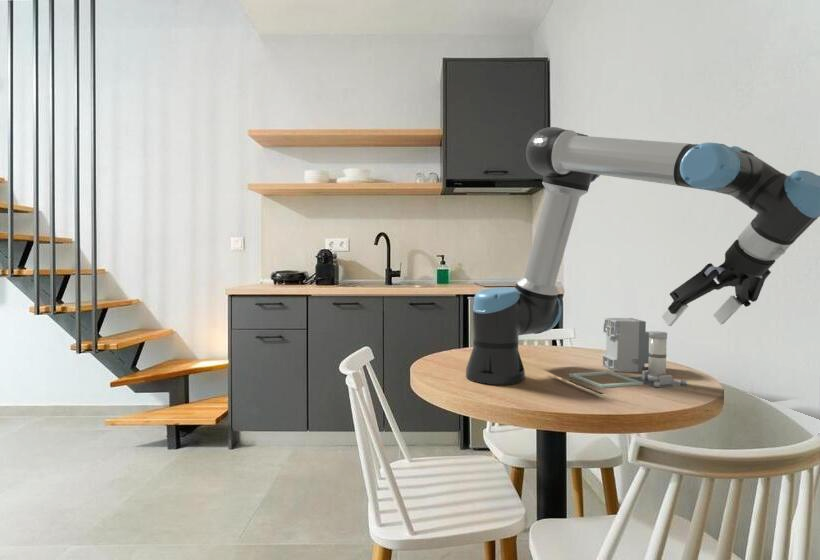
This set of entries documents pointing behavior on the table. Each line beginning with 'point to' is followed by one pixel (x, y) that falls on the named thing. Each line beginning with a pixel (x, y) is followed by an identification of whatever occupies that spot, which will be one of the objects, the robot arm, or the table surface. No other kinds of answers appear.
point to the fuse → (657, 355)
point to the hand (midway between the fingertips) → (692, 320)
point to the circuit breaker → (626, 344)
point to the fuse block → (664, 381)
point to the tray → (577, 376)
